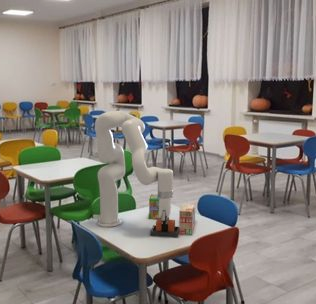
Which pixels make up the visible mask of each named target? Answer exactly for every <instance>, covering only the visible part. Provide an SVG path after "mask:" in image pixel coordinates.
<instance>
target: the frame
mask: <svg viewBox="0 0 316 304" xmlns="http://www.w3.org/2000/svg"><path fill="white" fill-rule="evenodd" d="M149 233H150V235H149V236H150V237H163V238H164V237H166V238H179V235H180V234H179V226H177V225H175V230H174V232H165V231H156V224H153V225H152V227H151V229H150V232H149Z"/></svg>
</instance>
